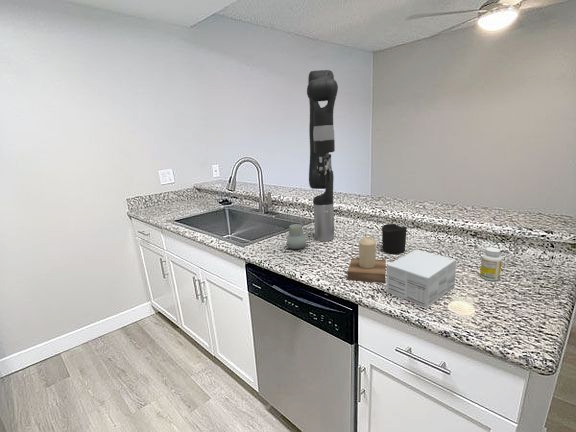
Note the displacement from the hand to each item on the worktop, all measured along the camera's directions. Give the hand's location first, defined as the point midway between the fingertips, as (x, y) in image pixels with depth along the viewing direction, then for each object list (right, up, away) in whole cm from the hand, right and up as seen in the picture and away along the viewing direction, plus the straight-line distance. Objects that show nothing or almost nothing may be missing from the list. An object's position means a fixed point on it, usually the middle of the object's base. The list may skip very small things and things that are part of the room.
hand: (325, 183), depth 114 cm
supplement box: (+27, -35, -20) cm, 48 cm away
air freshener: (-10, -26, +23) cm, 36 cm away
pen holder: (+30, -26, +12) cm, 41 cm away
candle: (+14, -29, -8) cm, 33 cm away
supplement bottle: (+51, -32, -16) cm, 62 cm away
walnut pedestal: (+14, -32, -8) cm, 36 cm away
